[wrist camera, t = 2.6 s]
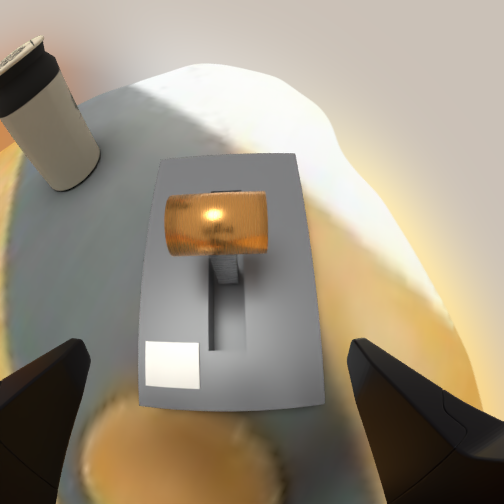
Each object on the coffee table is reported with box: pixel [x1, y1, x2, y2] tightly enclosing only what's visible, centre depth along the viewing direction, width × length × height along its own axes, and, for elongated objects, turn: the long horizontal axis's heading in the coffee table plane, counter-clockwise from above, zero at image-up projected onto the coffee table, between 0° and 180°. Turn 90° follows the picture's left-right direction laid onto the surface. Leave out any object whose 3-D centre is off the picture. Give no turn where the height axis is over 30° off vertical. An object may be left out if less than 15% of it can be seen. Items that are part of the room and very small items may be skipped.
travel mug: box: [0, 35, 100, 191], centre depth 20 cm, size 8×8×18 cm
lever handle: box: [164, 191, 268, 284], centre depth 17 cm, size 3×5×10 cm
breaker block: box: [138, 153, 325, 411], centre depth 21 cm, size 20×12×4 cm, turn 2°
